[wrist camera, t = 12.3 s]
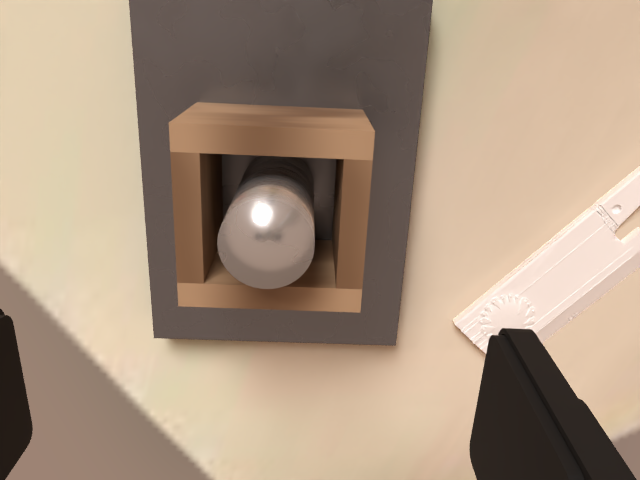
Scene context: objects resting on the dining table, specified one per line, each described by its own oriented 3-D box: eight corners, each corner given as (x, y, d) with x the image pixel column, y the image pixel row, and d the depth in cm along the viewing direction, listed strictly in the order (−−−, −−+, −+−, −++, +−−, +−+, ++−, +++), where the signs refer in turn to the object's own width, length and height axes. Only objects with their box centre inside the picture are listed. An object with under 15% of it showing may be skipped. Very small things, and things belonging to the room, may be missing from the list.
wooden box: (362, 109, 24) (375, 131, 19) (351, 260, 26) (360, 312, 22) (197, 102, 24) (168, 122, 19) (202, 255, 26) (178, 306, 22)
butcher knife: (752, 186, 27) (769, 193, 26) (507, 371, 31) (514, 383, 30) (698, 111, 26) (715, 115, 25) (449, 314, 30) (454, 325, 29)
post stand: (425, -2, 24) (483, -12, 16) (391, 329, 30) (420, 444, 22) (138, -16, 23) (49, -33, 15) (161, 322, 29) (105, 435, 21)
